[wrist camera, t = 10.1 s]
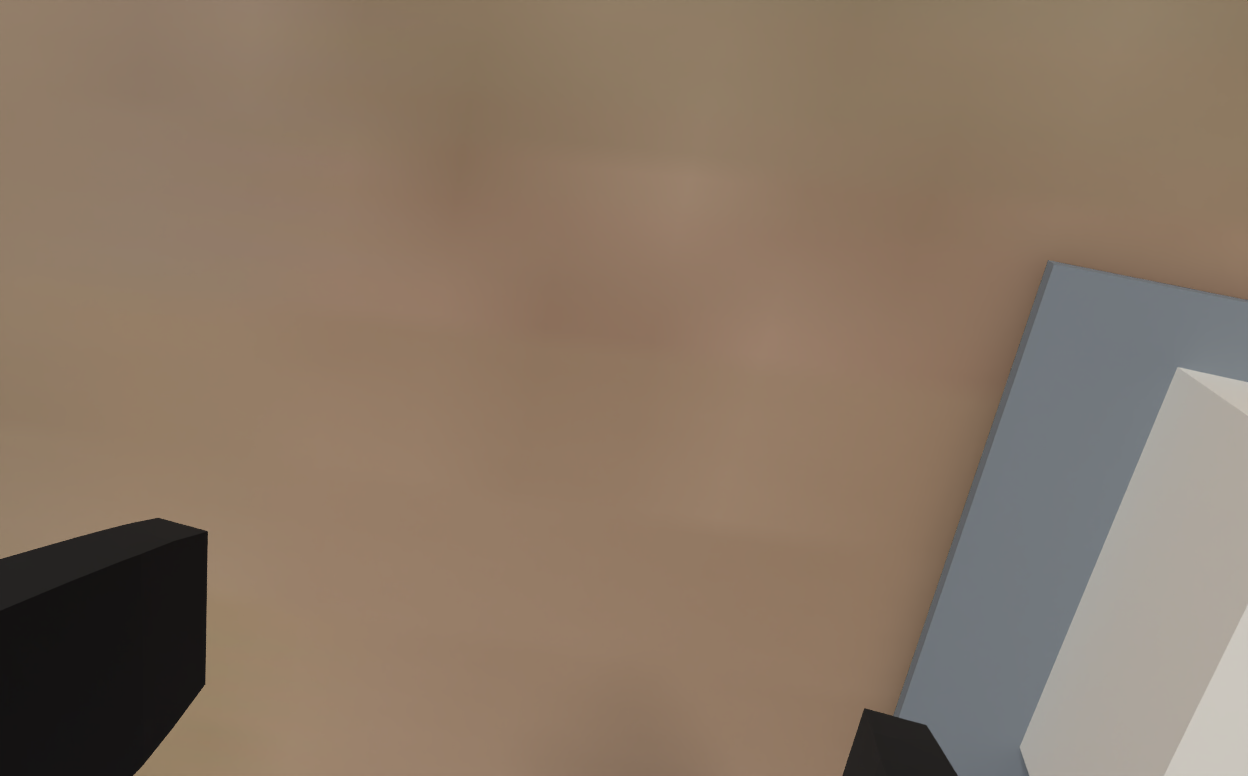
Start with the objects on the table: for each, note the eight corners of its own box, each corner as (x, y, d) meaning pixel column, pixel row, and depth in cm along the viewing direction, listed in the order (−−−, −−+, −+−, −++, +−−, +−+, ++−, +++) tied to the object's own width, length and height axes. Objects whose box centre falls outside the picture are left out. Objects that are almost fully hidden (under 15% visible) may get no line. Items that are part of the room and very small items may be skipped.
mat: (1296, 899, 19) (1306, 916, 18) (871, 780, 20) (872, 794, 19) (1602, 371, 15) (1623, 378, 14) (1048, 260, 16) (1054, 263, 15)
